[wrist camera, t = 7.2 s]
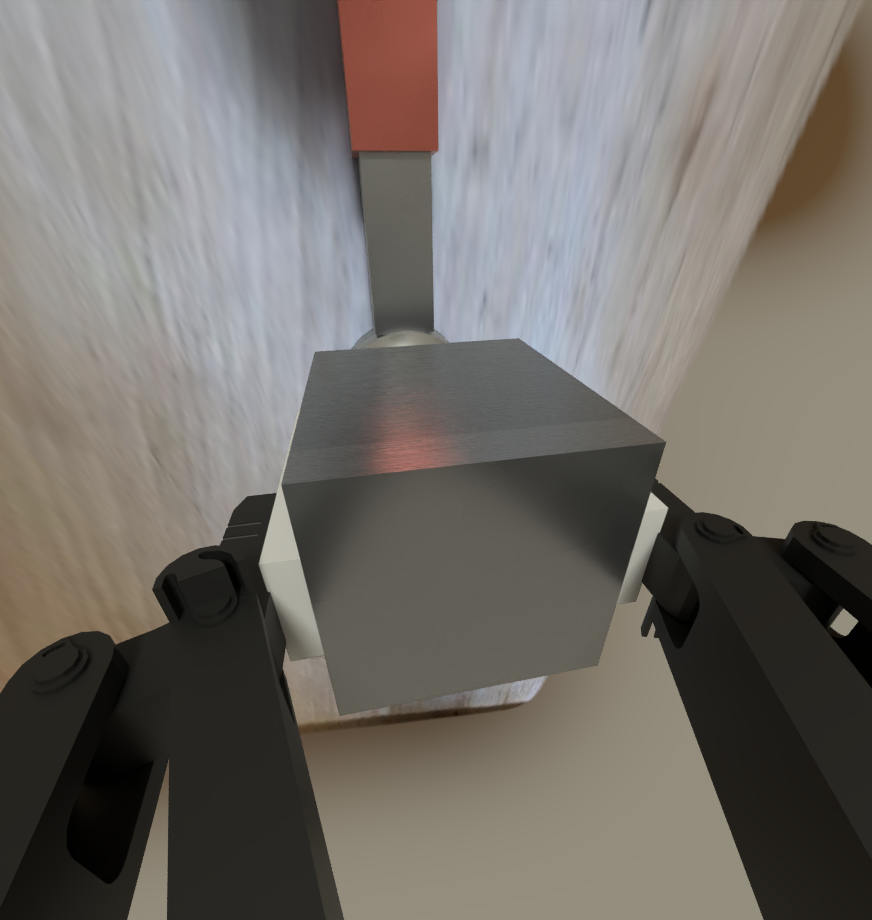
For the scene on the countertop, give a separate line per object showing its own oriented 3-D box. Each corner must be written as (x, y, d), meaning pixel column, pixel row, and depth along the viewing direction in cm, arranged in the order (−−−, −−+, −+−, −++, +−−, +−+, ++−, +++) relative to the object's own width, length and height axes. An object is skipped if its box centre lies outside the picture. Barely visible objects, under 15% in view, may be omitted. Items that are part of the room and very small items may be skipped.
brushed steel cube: (343, 519, 15) (339, 715, 9) (315, 351, 12) (281, 484, 6) (504, 499, 16) (597, 665, 10) (518, 338, 13) (666, 442, 7)
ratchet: (350, 438, 19) (352, 513, 14) (268, -160, 10) (199, -490, 6) (459, 427, 20) (495, 495, 15) (468, -138, 11) (561, -408, 6)
